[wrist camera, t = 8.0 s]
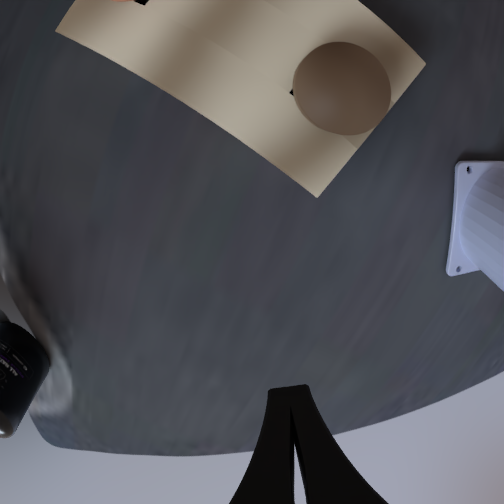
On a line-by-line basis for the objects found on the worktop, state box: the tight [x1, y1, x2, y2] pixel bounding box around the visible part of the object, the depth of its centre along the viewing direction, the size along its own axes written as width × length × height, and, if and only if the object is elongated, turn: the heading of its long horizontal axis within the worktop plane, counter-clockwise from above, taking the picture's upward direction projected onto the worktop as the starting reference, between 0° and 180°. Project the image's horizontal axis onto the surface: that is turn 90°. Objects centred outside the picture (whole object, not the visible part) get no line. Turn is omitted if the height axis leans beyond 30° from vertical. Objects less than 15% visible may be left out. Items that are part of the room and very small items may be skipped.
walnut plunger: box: [292, 42, 391, 135], centre depth 12 cm, size 4×4×4 cm
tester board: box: [56, 0, 426, 198], centre depth 12 cm, size 16×9×2 cm, turn 54°
